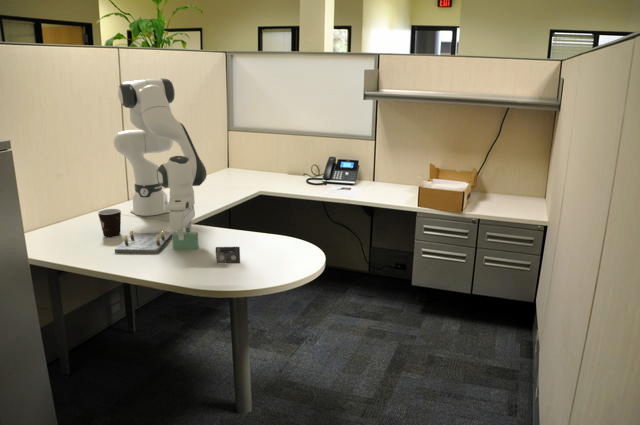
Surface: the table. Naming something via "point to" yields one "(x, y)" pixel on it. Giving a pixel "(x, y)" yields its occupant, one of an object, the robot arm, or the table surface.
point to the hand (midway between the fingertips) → (185, 235)
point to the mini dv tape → (227, 255)
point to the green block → (185, 241)
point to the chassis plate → (144, 242)
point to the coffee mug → (110, 222)
